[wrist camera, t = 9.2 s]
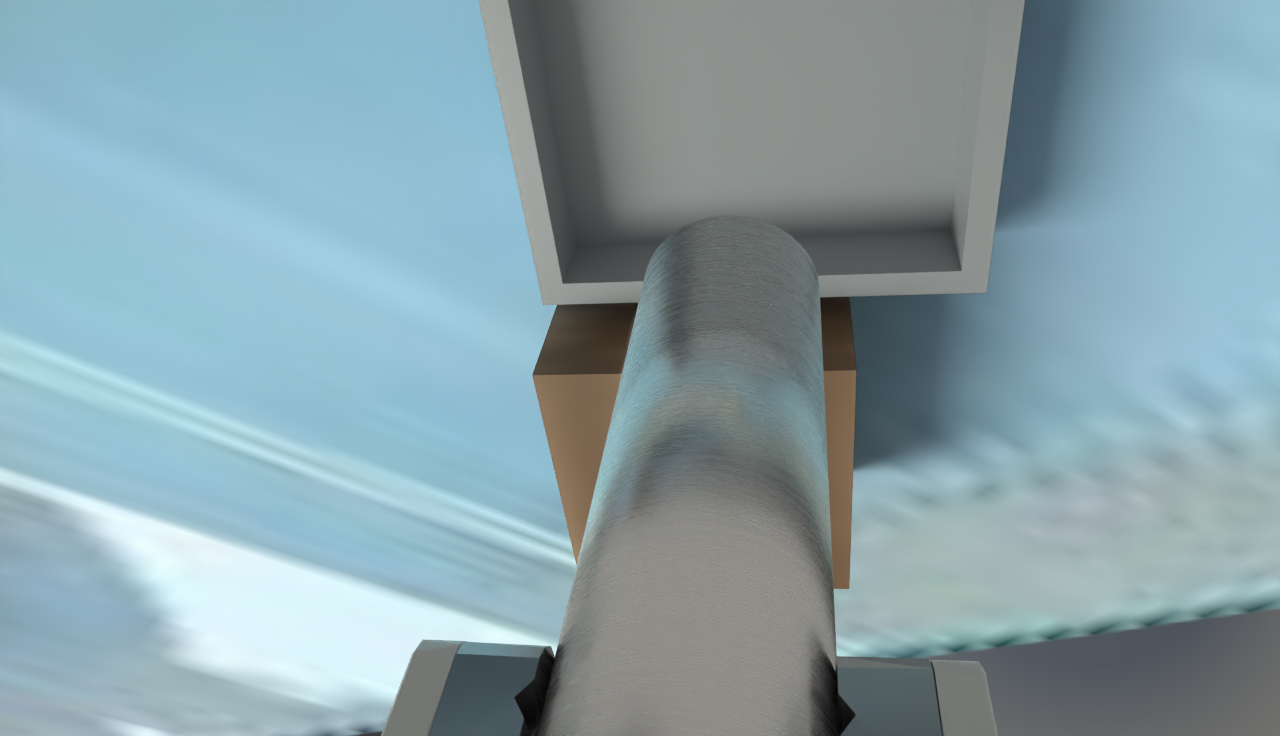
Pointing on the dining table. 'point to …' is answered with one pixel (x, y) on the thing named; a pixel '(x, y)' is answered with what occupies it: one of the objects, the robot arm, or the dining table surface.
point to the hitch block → (587, 388)
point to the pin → (709, 507)
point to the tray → (758, 133)
